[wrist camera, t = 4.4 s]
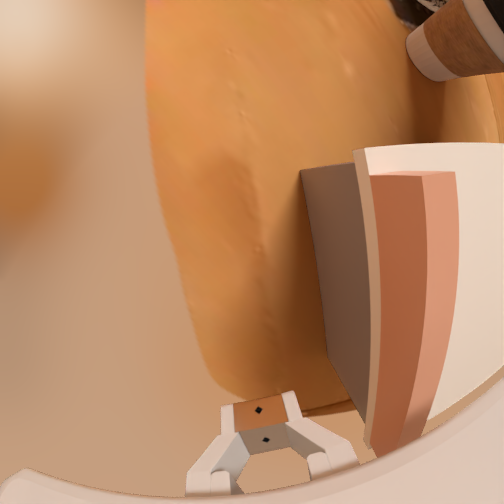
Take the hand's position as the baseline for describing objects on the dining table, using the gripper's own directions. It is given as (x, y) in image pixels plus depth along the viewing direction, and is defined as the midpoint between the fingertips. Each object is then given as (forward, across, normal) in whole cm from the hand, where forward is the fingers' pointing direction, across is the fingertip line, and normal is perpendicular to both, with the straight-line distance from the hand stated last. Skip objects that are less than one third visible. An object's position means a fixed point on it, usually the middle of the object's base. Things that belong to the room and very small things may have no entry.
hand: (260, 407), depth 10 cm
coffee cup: (+12, -23, -19) cm, 32 cm away
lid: (+2, -14, 0) cm, 14 cm away
